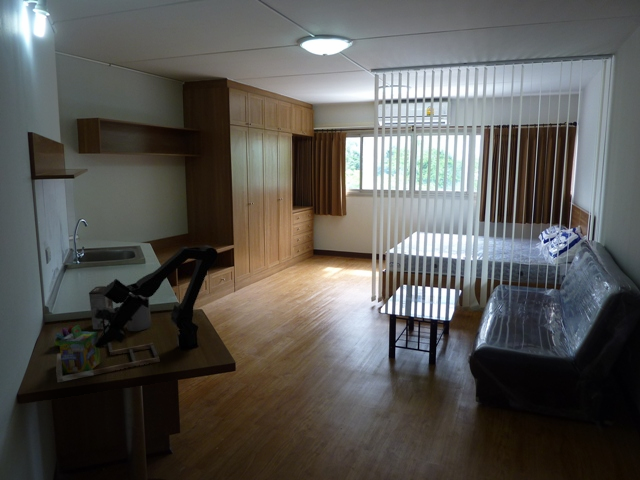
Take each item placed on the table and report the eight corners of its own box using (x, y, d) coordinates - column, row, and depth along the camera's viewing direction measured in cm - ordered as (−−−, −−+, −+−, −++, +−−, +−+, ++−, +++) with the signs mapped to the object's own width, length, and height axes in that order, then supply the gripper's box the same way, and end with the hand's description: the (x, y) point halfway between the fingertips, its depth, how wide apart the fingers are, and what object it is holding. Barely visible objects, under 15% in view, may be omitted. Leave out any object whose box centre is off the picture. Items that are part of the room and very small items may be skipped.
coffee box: (99, 322, 207) (96, 286, 204) (115, 321, 208) (111, 285, 205) (92, 329, 198) (88, 292, 195) (108, 328, 199) (104, 291, 196)
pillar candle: (133, 322, 205) (130, 289, 202) (155, 323, 204) (152, 289, 201) (122, 331, 196) (118, 296, 193) (145, 331, 195) (141, 296, 192)
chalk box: (88, 374, 158) (84, 331, 155) (61, 374, 158) (56, 331, 156) (102, 362, 167) (98, 321, 164) (76, 362, 167) (72, 321, 165)
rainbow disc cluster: (86, 344, 183) (84, 326, 182) (59, 352, 176) (57, 333, 175) (78, 339, 189) (75, 321, 187) (51, 346, 182) (49, 328, 180)
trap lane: (149, 337, 189) (148, 327, 188) (159, 361, 167) (158, 350, 166) (59, 353, 175) (57, 343, 174) (57, 382, 152) (56, 370, 152)
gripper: (105, 290, 170) (75, 326, 168) (109, 305, 154) (76, 344, 151) (131, 307, 175) (102, 342, 173) (137, 323, 159) (106, 361, 156)
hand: (96, 347), depth 163 cm, fingers closed
